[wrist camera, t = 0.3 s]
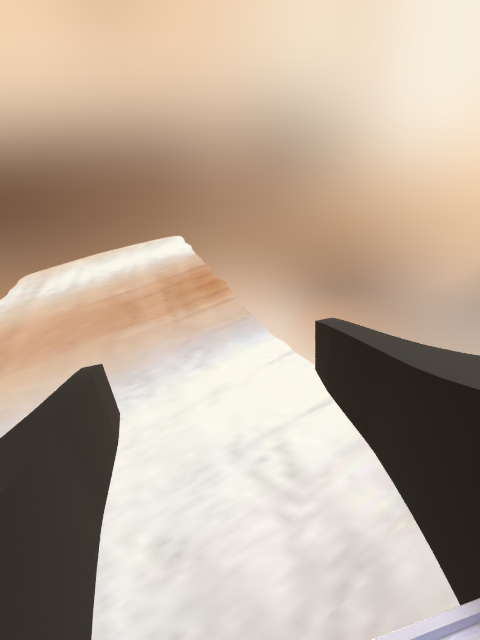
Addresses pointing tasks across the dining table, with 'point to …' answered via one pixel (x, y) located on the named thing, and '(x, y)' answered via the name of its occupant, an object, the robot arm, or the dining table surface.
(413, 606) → the dining table surface
